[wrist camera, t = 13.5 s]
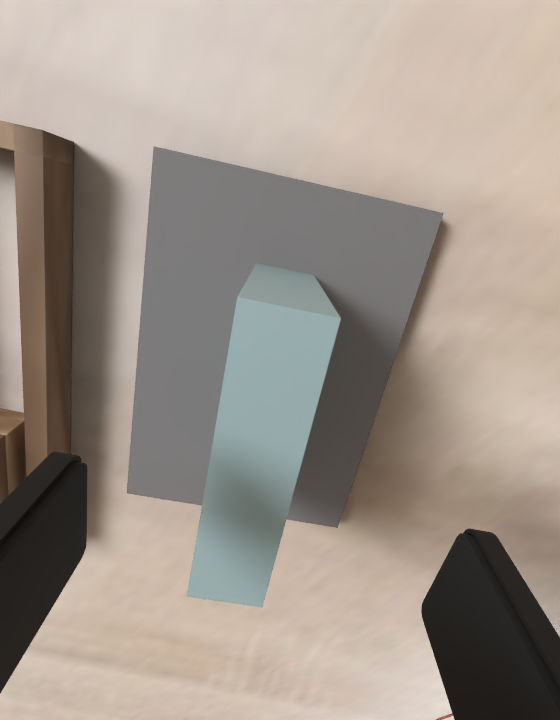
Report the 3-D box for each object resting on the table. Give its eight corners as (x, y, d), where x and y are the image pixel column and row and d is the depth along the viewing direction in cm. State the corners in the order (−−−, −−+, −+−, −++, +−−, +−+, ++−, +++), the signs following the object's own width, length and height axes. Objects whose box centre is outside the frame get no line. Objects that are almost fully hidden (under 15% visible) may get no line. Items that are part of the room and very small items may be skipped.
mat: (435, 213, 19) (443, 213, 18) (335, 516, 26) (337, 527, 25) (160, 150, 18) (153, 146, 17) (132, 482, 25) (126, 493, 24)
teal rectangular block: (313, 275, 19) (341, 318, 11) (268, 466, 23) (262, 607, 15) (256, 263, 19) (237, 297, 10) (221, 458, 23) (186, 596, 15)
